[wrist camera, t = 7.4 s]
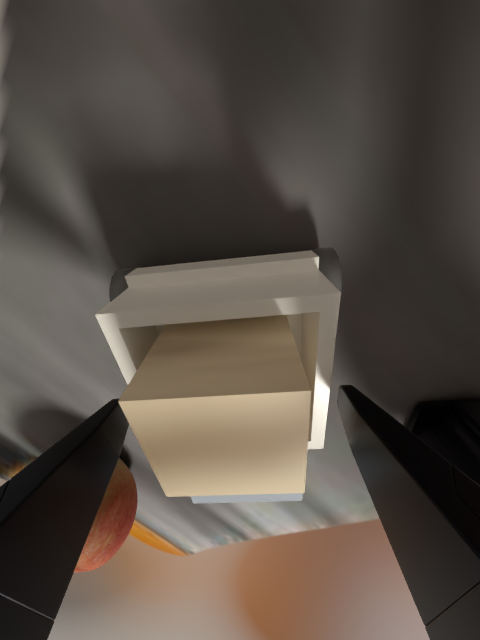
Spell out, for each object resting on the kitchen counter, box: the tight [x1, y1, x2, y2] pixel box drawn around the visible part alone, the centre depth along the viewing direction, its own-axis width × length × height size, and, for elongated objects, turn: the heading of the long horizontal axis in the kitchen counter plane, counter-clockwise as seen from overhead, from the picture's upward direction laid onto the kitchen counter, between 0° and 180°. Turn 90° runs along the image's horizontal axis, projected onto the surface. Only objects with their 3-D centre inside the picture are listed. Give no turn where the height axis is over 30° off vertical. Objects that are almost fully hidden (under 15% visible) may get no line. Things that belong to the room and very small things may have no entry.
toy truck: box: [95, 248, 342, 503], centre depth 12 cm, size 13×10×6 cm
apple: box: [74, 458, 137, 572], centre depth 18 cm, size 8×8×8 cm
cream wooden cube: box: [118, 315, 311, 497], centre depth 9 cm, size 5×5×5 cm
